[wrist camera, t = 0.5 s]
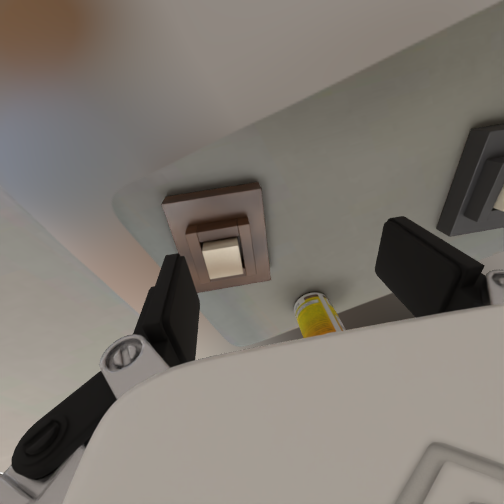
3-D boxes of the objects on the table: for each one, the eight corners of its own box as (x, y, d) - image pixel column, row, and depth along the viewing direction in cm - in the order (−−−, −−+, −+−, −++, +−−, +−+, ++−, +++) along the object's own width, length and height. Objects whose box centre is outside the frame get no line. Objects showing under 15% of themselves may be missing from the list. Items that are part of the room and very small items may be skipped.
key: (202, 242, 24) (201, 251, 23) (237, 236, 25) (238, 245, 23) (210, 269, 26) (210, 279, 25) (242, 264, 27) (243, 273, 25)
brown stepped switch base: (165, 196, 25) (157, 211, 22) (258, 181, 25) (264, 194, 22) (194, 282, 32) (191, 304, 28) (267, 269, 32) (273, 289, 29)
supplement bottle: (286, 313, 37) (307, 377, 28) (303, 287, 34) (332, 348, 26) (316, 319, 39) (344, 381, 30) (335, 294, 36) (371, 355, 27)
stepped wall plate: (470, 128, 25) (509, 133, 22) (542, 117, 25) (591, 120, 22) (436, 229, 32) (461, 244, 28) (493, 219, 32) (525, 233, 28)
